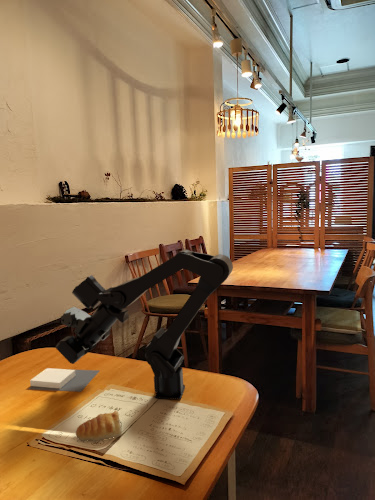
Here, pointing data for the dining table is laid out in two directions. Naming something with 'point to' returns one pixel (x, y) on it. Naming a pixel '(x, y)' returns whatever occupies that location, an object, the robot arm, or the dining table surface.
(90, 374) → the mat
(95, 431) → the pastry
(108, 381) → the dining table surface
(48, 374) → the tile
